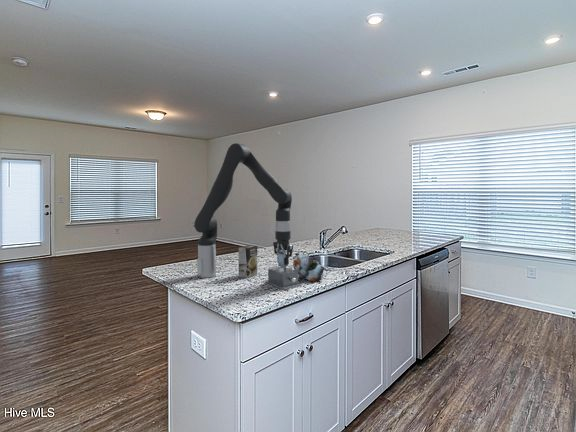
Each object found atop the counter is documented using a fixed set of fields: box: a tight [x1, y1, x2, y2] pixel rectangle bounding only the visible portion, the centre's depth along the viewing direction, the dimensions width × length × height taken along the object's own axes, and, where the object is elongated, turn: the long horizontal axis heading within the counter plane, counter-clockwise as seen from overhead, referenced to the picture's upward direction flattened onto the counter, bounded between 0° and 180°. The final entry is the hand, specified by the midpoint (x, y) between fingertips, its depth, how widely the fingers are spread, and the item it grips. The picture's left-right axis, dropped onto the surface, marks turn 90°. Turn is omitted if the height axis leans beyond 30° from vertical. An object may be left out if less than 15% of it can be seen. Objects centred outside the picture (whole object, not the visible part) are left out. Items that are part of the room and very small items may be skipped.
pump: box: [277, 251, 289, 268], centre depth 160 cm, size 5×5×7 cm
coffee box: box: [238, 244, 258, 279], centre depth 176 cm, size 9×6×16 cm
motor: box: [265, 265, 302, 291], centre depth 160 cm, size 11×17×9 cm, turn 37°
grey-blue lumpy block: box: [292, 252, 325, 283], centre depth 171 cm, size 17×14×16 cm
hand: (282, 263), depth 161 cm, fingers closed on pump, 5 cm apart
